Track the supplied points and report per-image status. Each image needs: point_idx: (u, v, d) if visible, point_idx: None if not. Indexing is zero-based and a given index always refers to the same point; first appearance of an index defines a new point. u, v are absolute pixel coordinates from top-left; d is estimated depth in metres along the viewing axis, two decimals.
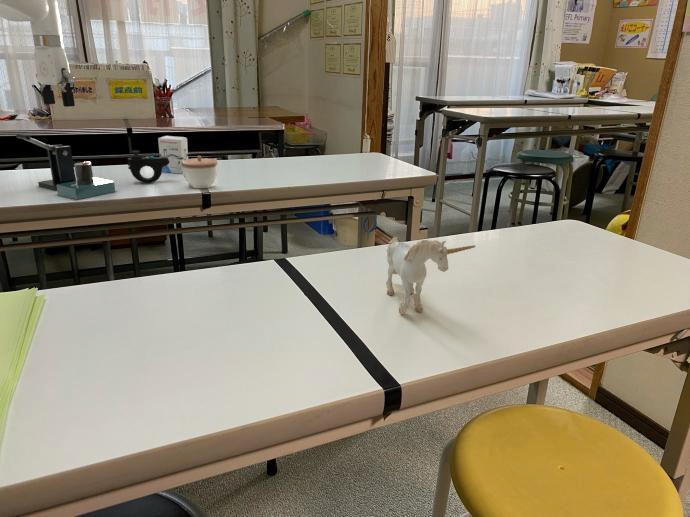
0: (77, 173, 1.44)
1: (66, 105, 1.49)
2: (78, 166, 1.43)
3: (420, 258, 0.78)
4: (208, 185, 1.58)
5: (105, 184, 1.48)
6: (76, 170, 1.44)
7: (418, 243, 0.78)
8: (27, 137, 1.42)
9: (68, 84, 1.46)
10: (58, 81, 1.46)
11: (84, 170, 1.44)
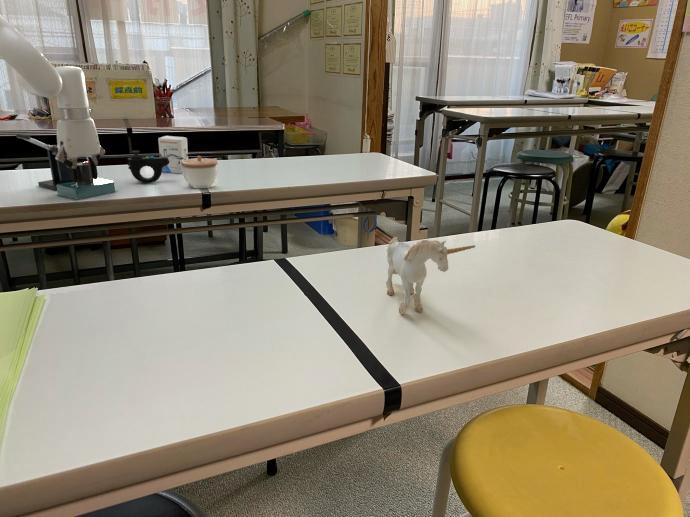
0: None
1: (73, 180, 1.45)
2: (78, 166, 1.43)
3: (420, 258, 0.78)
4: (208, 185, 1.58)
5: (105, 184, 1.48)
6: None
7: (418, 243, 0.78)
8: (27, 137, 1.42)
9: None
10: None
11: (84, 170, 1.44)
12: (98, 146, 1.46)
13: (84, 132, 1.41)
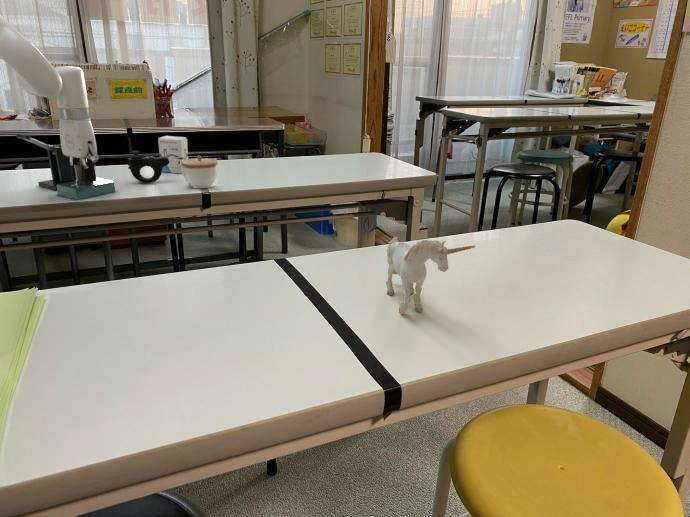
0: None
1: (88, 181, 1.45)
2: None
3: (420, 258, 0.78)
4: (208, 185, 1.58)
5: (105, 184, 1.48)
6: None
7: (418, 243, 0.78)
8: (27, 137, 1.42)
9: (90, 161, 1.42)
10: (84, 155, 1.40)
11: None
12: None
13: None
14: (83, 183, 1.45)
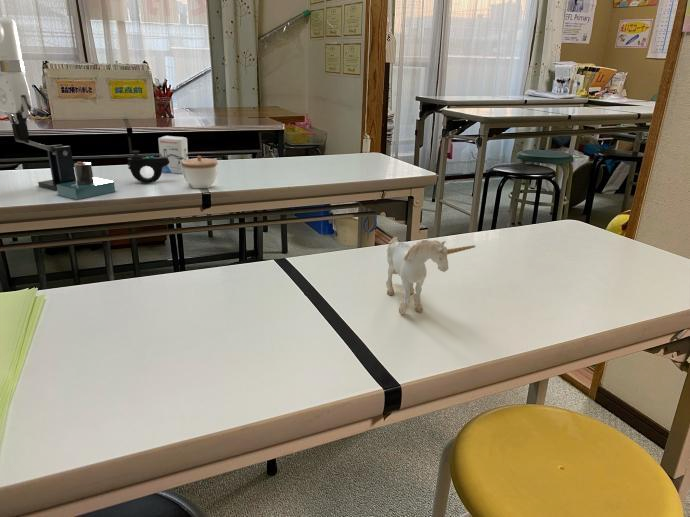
0: (90, 172, 1.46)
1: (19, 137, 1.42)
2: (90, 165, 1.45)
3: (420, 258, 0.78)
4: (208, 185, 1.58)
5: (105, 184, 1.48)
6: (88, 170, 1.45)
7: (418, 243, 0.78)
8: (26, 141, 1.42)
9: (20, 116, 1.39)
10: (17, 109, 1.36)
11: (91, 168, 1.47)
12: None
13: None
14: (83, 183, 1.45)
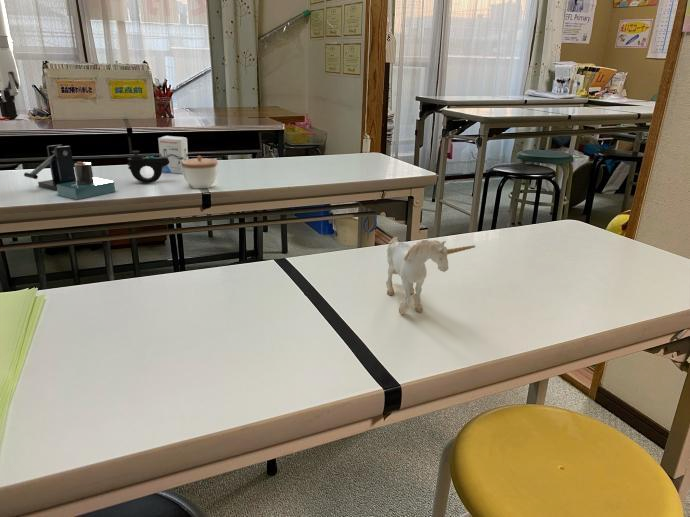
0: (90, 172, 1.46)
1: (7, 116, 1.38)
2: (90, 165, 1.45)
3: (420, 258, 0.78)
4: (208, 185, 1.58)
5: (105, 184, 1.48)
6: (88, 170, 1.45)
7: (418, 243, 0.78)
8: (35, 177, 1.46)
9: (8, 93, 1.35)
10: (5, 86, 1.33)
11: (91, 168, 1.47)
12: None
13: None
14: (83, 183, 1.45)
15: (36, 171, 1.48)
